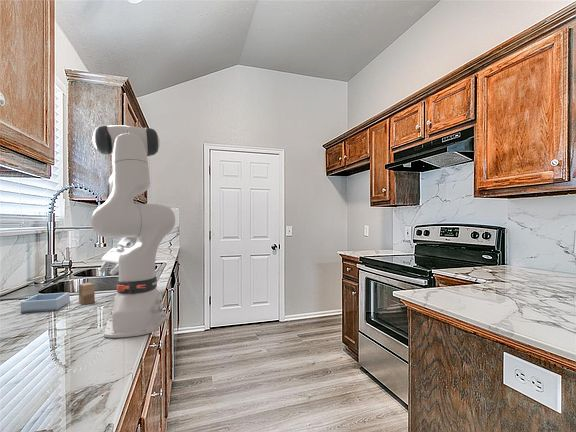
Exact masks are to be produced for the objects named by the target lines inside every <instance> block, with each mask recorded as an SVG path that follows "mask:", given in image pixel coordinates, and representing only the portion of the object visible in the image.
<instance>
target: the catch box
mask: <svg viewBox="0 0 576 432" xmlns="http://www.w3.org/2000/svg"><path fill="white" fill-rule="evenodd" d="M70 298H71V297H70V292H54V293H43V294H42V293H40V294H38V293H37V294H35V295H33V296H31V297H29V298H27V299H25V300H22V301H20V314H26V313H37V312H38V313H39V312H52V311H58V310H59V309H61V308H63V307H64V306H66V305H67V304H69V303H70V302H71V301H70Z"/></svg>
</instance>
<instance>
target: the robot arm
mask: <svg viewBox="0 0 576 432" xmlns="http://www.w3.org/2000/svg"><path fill="white" fill-rule="evenodd" d="M160 141H161V140H160V138H159V135H158V133H157V131H156V130H155V129H153V128H149V127H139V126H133V125H119V124H118V125H107V124H106V125H103V124H102V125H99V126H97V127H96V128H95V129H94V132H93V134H92V142H93V145H94V147H95V149H96V151H97V152H98V153H99V154H102V155H106V156H110V155H111V156H112V174H110V176H109V178H108V181H107V190H106V191H107V192H106V193H107V194H106V200H105V202H103V203H102V204H100V205H99V206H98V207H97V208H95V210H94V211H93V213H92V215H91V218H90V220H91V221H90V222H91V223H90V224H91V226H92V229H93V231H94V233H95V234H96V235H97V236H98V237H103V238H110V239H111V238H112V239H120V238H121V239H120V240H119V242H118V243H116V247H112V248H110V249H109V250H108V251H107V252H106V253H105V254H104V255H103V256H102V257H101V259H100V261H101V262H102V264H101V267H100V268H99V269H98V271H99V272H100V273H102V274H103V273H105V272H106V270H107V268H108V267H109V266H113V267H114V268H112V269H110V271H109V272H108V273H109V274H110V275H111V276H114V275H116V273H118V279H117V284H116V292H117V294H115V295H114V301H113V307H112V311H110V315H111V316H112V317H111V318H109V319H107V321H106V324H105V329H104V332H103V337H104V338H110V339H111V338H112V339H113V338H115V339H117V338H130V337H137V336H143V335H147V334H151V333H154V332H156V331H157V330H158V329H159V327H160V326H162V325H163V323H165V322H166V320H167V319H168V318H169V314H168V313H164V309H163V308H164V307H163V296H162V295H163V294H162V292H161V291H160V290H158V289H157V285H158V279H157V276H156V258H157V256H156V255H157V252H158V249H159V247H160V244H161V243H162V241H163V239H164V238H165V237H166V236H167V235H169V234H170V233H171V232H172V231H173V229H174V228H175V225H176V215H175V212H174V211H173V209H172V208H171V207H170V206H168V205H163V204H158V203H157V204H156V203H134V198H135V197H137V196H140V195H142V194H143V193H145V192H146V191H147V190H149V188H150V186H151V185H150V184H151V178H150V177H151V176H150V169H149V160H148V159H149V158H148V157H150V156H151V157H152V156H154V155H156V154H158V153H159V148H160V144H161V142H160Z"/></svg>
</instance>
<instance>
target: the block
mask: <svg viewBox="0 0 576 432" xmlns="http://www.w3.org/2000/svg"><path fill="white" fill-rule="evenodd" d="M95 296H96V295H95V283H92V282H85V283H84V282H83V283H79V284H78V303H79V304H81V305H88V304H93V303H95V298H96V297H95Z"/></svg>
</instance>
